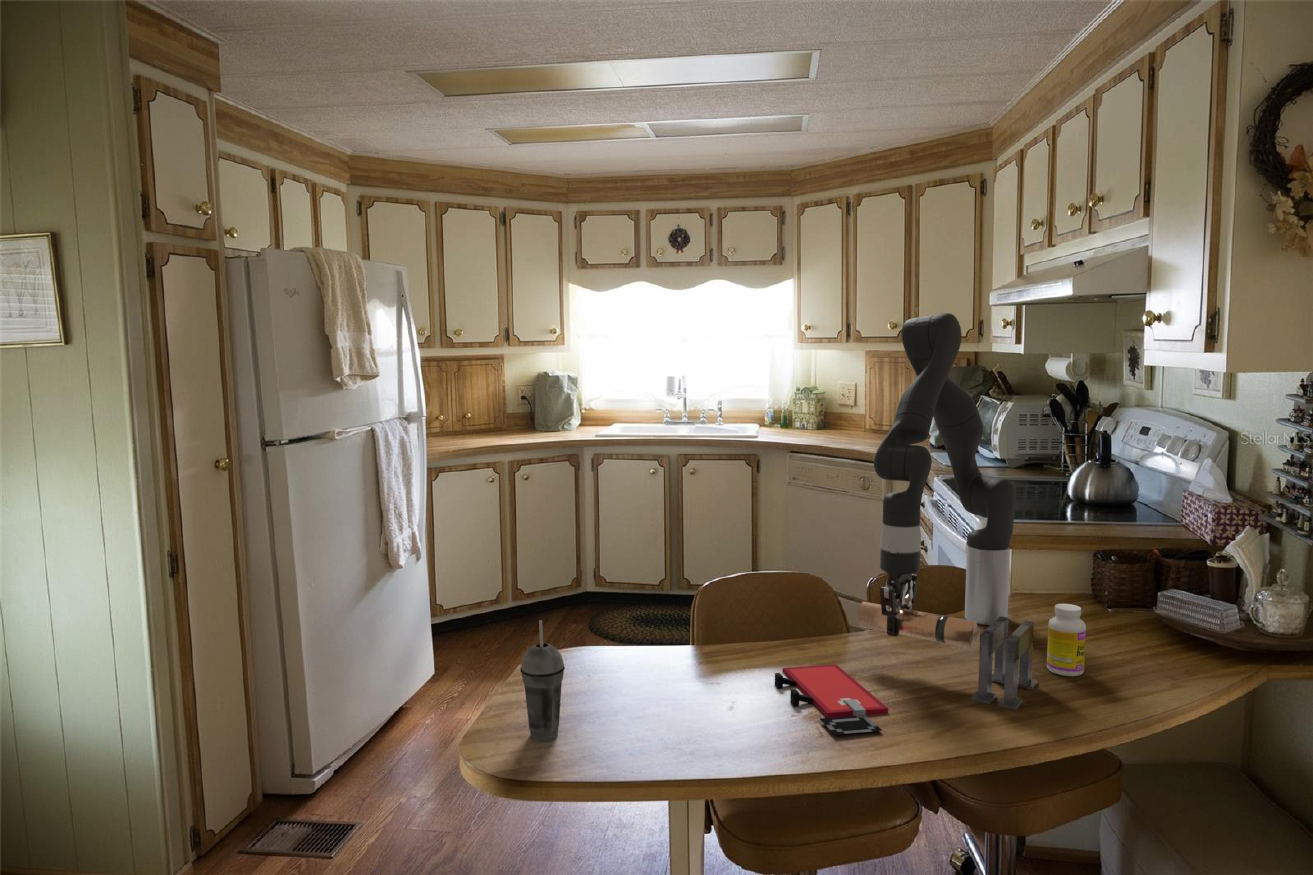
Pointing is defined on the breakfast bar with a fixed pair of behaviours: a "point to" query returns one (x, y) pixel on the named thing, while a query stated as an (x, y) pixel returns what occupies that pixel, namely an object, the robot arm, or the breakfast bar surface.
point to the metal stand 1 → (991, 659)
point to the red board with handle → (833, 697)
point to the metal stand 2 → (1015, 648)
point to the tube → (921, 625)
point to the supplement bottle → (1066, 641)
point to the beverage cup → (543, 688)
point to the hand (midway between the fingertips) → (898, 631)
